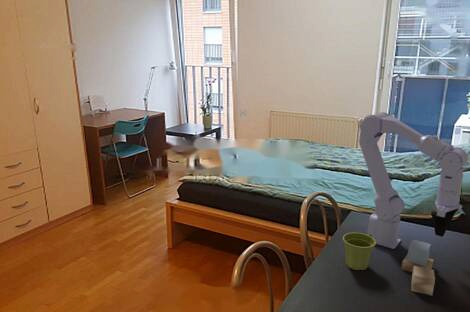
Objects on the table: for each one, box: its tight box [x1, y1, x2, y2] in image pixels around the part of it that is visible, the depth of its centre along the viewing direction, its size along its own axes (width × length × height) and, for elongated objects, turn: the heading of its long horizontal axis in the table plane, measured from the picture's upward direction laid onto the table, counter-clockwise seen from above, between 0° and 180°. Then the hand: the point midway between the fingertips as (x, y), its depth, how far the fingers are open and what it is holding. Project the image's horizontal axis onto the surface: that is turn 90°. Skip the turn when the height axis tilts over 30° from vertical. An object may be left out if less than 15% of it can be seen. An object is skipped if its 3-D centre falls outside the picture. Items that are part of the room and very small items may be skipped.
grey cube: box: [407, 239, 432, 266], centre depth 112 cm, size 5×5×5 cm
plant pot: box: [342, 232, 377, 271], centre depth 113 cm, size 9×9×9 cm
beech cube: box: [411, 266, 436, 296], centre depth 103 cm, size 5×5×5 cm
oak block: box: [401, 253, 434, 274], centre depth 113 cm, size 7×7×3 cm
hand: (442, 231), depth 115 cm, fingers open, 7 cm apart
